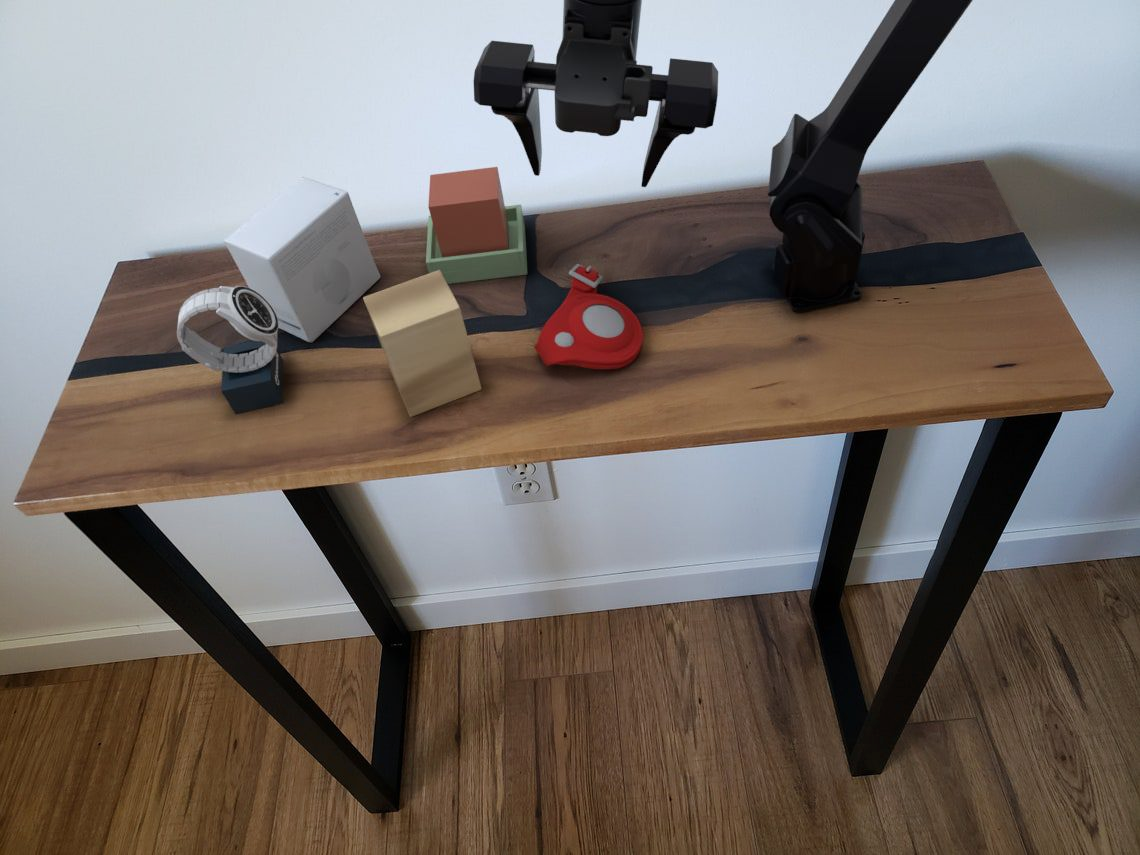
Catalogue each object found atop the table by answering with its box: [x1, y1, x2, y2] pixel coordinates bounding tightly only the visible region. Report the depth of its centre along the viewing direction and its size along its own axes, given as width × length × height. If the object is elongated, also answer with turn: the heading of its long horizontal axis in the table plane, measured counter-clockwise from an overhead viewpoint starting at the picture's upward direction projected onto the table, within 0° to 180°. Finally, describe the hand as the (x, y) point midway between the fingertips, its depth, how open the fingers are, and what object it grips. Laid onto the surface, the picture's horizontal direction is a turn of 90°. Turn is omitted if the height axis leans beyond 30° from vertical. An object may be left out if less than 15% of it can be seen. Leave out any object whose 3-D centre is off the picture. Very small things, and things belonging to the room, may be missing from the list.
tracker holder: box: [533, 263, 644, 370], centre depth 78 cm, size 12×4×10 cm
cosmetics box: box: [223, 176, 381, 343], centre depth 82 cm, size 10×6×10 cm, turn 147°
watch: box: [176, 285, 284, 415], centre depth 75 cm, size 6×8×11 cm
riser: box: [362, 270, 483, 418], centre depth 73 cm, size 5×7×10 cm
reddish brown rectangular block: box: [428, 166, 509, 258], centre depth 84 cm, size 5×6×7 cm
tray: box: [425, 204, 529, 285], centre depth 87 cm, size 10×7×3 cm
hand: (590, 178), depth 74 cm, fingers open, 9 cm apart
